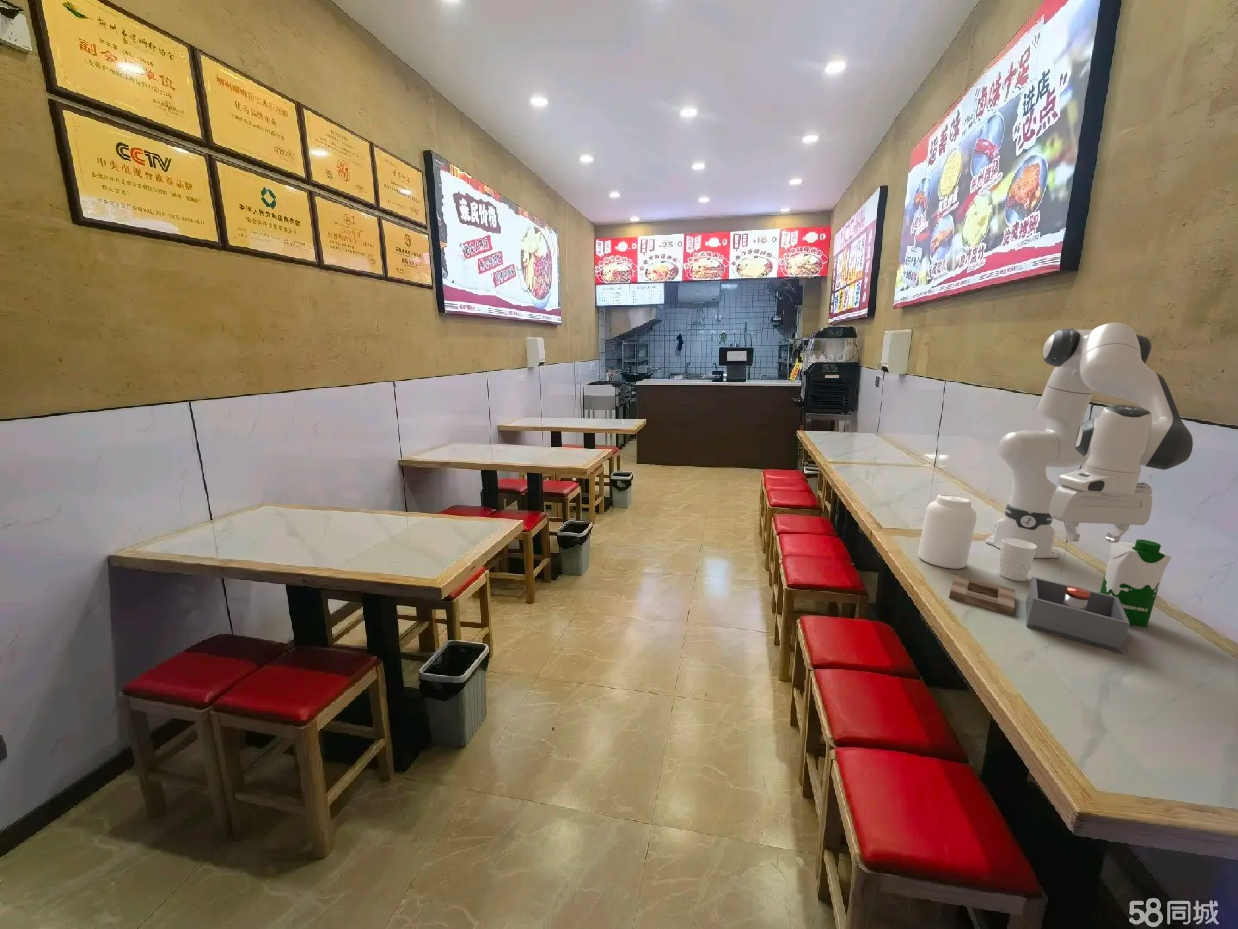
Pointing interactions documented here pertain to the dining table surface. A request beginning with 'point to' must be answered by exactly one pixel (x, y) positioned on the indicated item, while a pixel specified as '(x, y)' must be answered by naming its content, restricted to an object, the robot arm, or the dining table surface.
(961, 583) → the socket block
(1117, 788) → the dining table surface
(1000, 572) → the white cup
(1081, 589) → the red and grey cylinder
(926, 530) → the can
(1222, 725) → the dining table surface
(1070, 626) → the bin
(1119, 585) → the milk carton
